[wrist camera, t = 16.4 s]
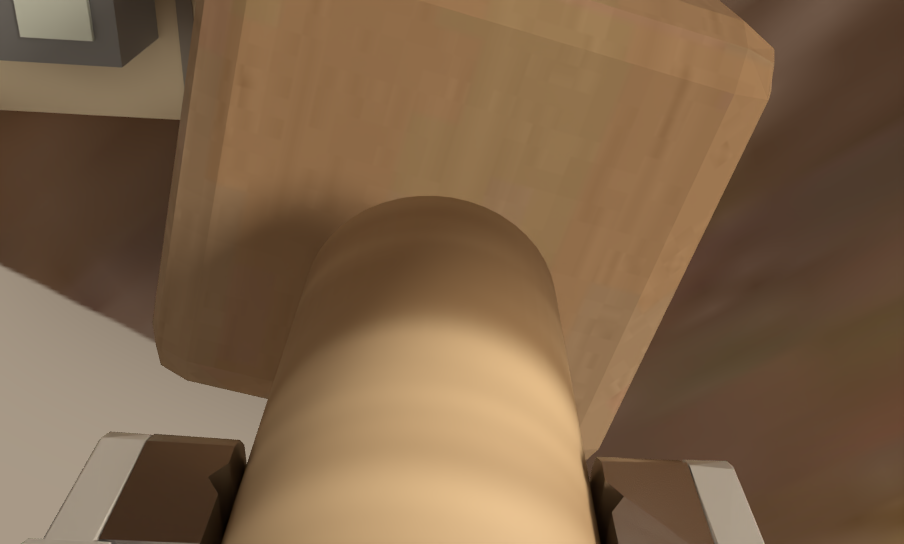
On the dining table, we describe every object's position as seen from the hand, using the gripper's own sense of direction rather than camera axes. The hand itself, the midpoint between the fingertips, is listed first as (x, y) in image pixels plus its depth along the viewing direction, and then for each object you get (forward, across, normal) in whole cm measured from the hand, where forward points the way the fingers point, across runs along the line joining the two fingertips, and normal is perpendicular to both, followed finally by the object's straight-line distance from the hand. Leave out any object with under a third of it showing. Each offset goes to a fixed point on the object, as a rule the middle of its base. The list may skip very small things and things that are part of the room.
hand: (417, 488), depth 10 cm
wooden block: (+27, 0, 0) cm, 27 cm away
